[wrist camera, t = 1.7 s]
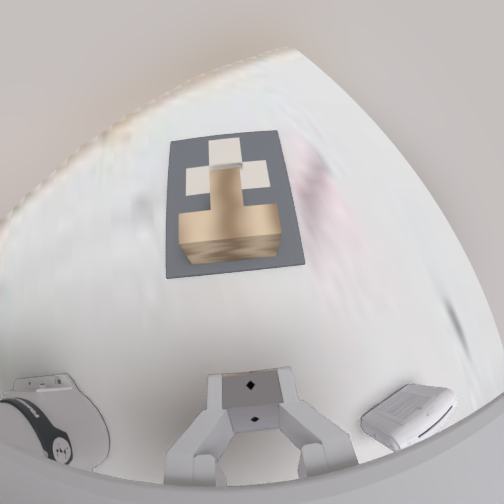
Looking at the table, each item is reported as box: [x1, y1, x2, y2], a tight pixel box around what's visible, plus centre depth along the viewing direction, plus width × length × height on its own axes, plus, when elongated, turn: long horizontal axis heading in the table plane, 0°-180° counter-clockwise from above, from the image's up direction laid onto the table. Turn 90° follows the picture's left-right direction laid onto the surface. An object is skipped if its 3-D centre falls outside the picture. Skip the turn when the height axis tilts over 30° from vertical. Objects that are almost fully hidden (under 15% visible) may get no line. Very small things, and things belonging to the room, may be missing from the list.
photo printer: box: [361, 384, 459, 452], centre depth 26 cm, size 10×4×12 cm, turn 116°
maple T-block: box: [179, 168, 282, 265], centre depth 37 cm, size 12×10×8 cm
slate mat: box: [166, 130, 305, 279], centre depth 44 cm, size 20×26×1 cm
